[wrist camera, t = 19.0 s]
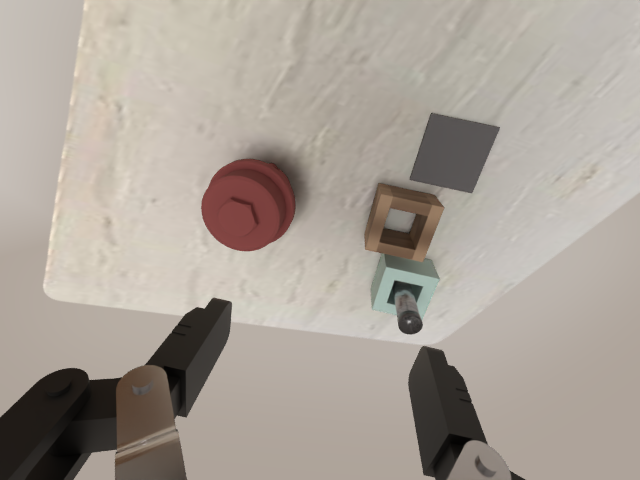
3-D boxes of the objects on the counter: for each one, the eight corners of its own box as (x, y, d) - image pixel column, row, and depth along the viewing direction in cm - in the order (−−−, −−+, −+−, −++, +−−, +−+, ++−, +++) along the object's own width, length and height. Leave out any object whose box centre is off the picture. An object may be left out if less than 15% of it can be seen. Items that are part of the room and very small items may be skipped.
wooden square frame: (378, 183, 40) (381, 194, 35) (434, 195, 40) (444, 207, 35) (364, 233, 43) (365, 249, 39) (416, 244, 43) (422, 262, 38)
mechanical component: (266, 132, 39) (320, 189, 41) (218, 183, 42) (270, 233, 45) (229, 146, 28) (305, 224, 30) (169, 215, 31) (241, 279, 34)
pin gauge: (392, 265, 45) (402, 313, 35) (410, 269, 45) (425, 318, 35) (387, 280, 46) (395, 331, 36) (405, 284, 46) (418, 336, 36)
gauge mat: (431, 113, 36) (431, 113, 35) (498, 127, 35) (500, 127, 35) (409, 179, 39) (410, 179, 39) (471, 192, 39) (472, 193, 39)
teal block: (383, 249, 44) (386, 267, 39) (431, 260, 44) (439, 279, 39) (370, 289, 47) (372, 309, 42) (415, 299, 47) (421, 320, 42)
